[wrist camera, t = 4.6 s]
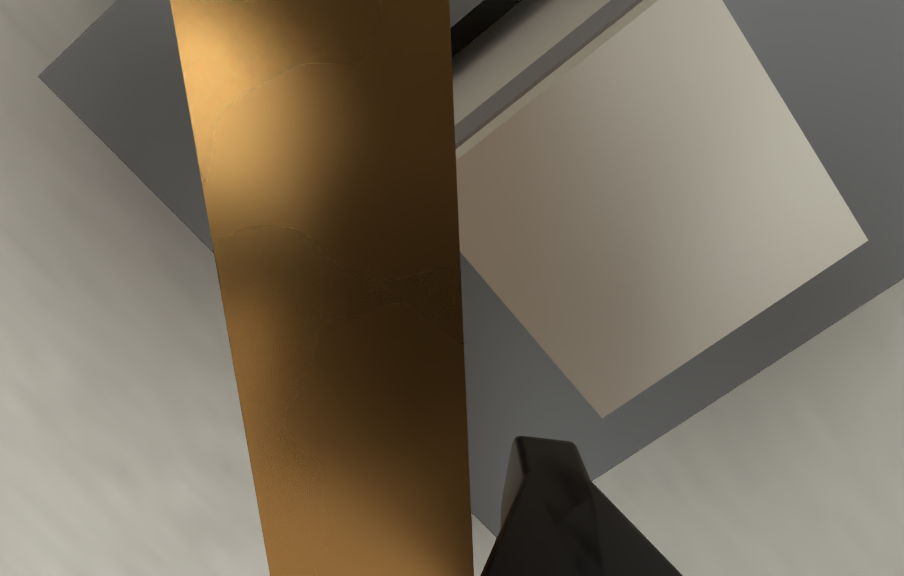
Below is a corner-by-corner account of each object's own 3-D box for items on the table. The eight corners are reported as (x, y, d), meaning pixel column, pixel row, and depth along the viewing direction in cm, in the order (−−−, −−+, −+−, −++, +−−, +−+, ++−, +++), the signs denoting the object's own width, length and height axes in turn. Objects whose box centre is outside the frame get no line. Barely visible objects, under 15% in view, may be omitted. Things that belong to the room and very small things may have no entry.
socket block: (959, 172, 18) (1390, 342, 10) (410, 541, 21) (408, 884, 13) (631, -442, 13) (945, -1024, 5) (-1, 153, 17) (-369, 326, 9)
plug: (675, 118, 17) (873, 241, 10) (524, 231, 18) (601, 423, 11) (567, -41, 16) (703, -42, 8) (409, 89, 17) (406, 195, 9)
